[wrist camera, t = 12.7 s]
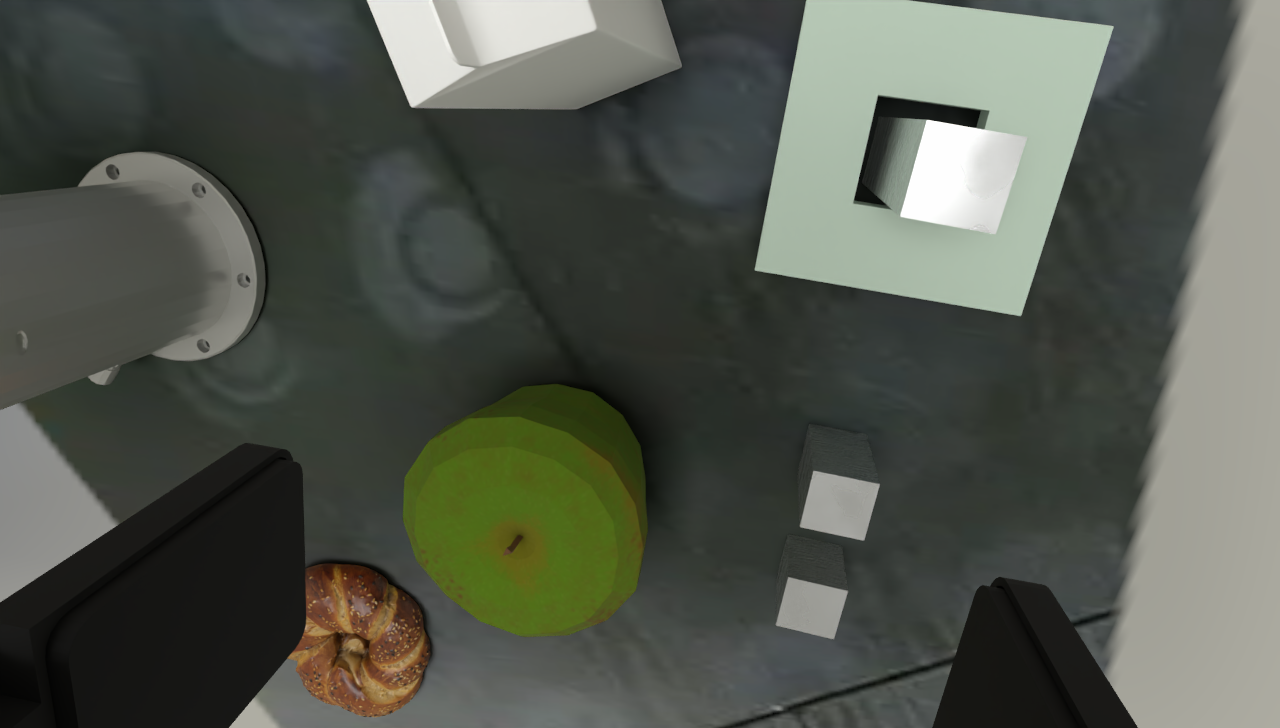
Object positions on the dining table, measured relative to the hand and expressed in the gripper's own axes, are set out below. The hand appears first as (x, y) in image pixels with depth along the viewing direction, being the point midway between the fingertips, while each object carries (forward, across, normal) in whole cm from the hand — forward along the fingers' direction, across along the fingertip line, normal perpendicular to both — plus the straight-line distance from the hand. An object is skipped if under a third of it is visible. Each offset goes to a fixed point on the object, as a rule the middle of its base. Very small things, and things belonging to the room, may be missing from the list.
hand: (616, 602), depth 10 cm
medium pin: (+32, -8, +11) cm, 34 cm away
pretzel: (+33, +20, +31) cm, 50 cm away
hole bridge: (+31, -8, -6) cm, 33 cm away
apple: (+32, +7, +14) cm, 36 cm away
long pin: (+31, -9, -6) cm, 33 cm away
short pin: (+32, -9, +18) cm, 37 cm away
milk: (+32, +7, -10) cm, 34 cm away
